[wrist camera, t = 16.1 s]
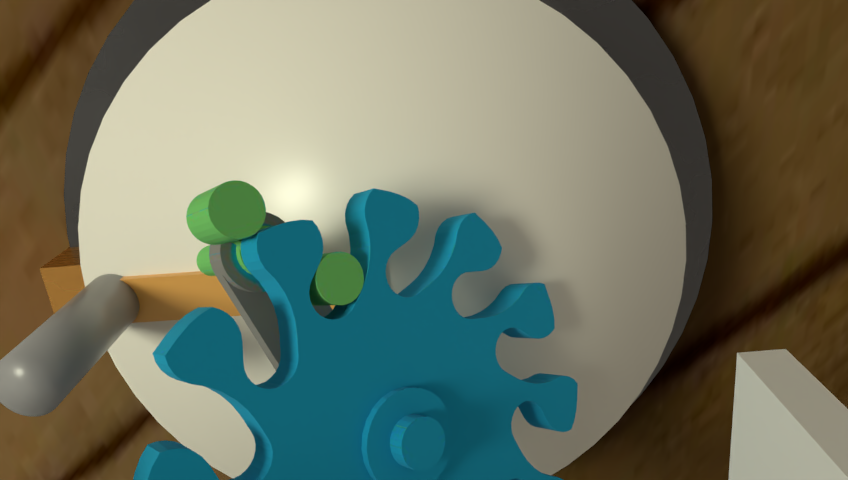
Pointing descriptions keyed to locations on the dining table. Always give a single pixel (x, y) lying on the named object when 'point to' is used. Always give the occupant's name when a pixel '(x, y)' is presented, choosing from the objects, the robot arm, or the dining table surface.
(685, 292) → the dial base
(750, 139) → the dining table surface
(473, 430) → the gear
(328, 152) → the dial
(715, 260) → the dining table surface
